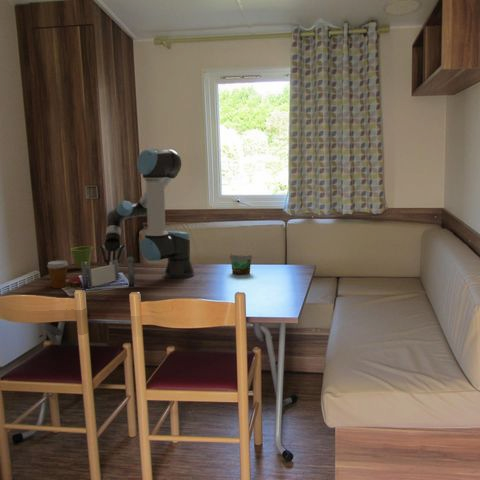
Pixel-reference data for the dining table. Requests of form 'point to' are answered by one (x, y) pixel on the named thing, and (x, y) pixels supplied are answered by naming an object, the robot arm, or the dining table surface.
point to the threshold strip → (110, 287)
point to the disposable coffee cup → (58, 273)
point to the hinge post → (84, 276)
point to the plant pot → (82, 255)
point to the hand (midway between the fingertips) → (110, 274)
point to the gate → (103, 274)
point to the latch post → (131, 272)
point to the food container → (240, 264)
